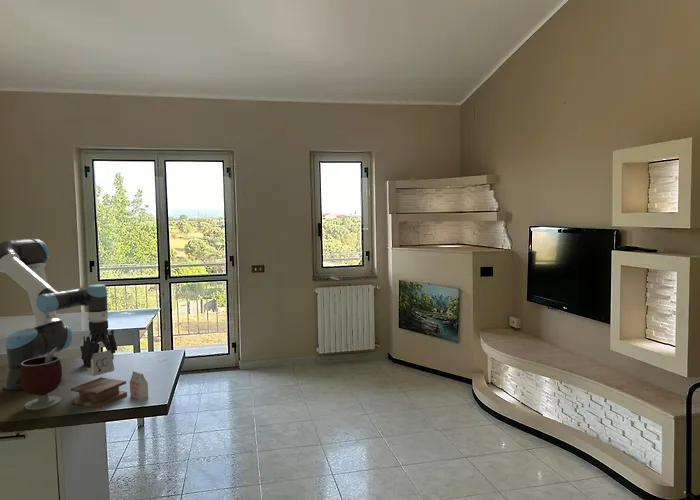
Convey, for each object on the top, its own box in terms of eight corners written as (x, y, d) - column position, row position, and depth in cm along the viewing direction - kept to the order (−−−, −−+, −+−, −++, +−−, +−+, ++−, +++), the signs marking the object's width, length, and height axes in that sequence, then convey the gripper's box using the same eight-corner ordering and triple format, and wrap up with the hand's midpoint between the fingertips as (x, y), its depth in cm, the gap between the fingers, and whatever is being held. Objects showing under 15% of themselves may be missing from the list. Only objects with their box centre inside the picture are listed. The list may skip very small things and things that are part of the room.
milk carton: (139, 394, 207) (137, 369, 207) (148, 397, 203) (147, 372, 203) (130, 396, 204) (129, 372, 204) (139, 400, 200) (138, 375, 200)
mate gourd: (45, 411, 191) (42, 358, 190) (13, 409, 193) (9, 357, 192) (74, 396, 206) (71, 347, 205) (44, 394, 209) (41, 346, 207)
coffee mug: (85, 361, 255) (84, 342, 254) (103, 360, 256) (102, 341, 255) (75, 368, 244) (74, 348, 243) (94, 367, 245) (93, 347, 244)
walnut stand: (71, 403, 198) (70, 388, 198) (101, 391, 211) (101, 377, 211) (97, 408, 193) (96, 392, 192) (127, 395, 206) (126, 381, 205)
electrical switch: (93, 376, 217) (91, 355, 216) (87, 375, 220) (85, 354, 220) (114, 371, 224) (113, 350, 224) (109, 370, 227) (107, 349, 227)
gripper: (82, 326, 208) (84, 380, 210) (125, 316, 229) (127, 365, 230) (69, 325, 211) (72, 377, 213) (112, 314, 231) (114, 363, 233)
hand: (100, 371), depth 222 cm, fingers closed on electrical switch, 9 cm apart
